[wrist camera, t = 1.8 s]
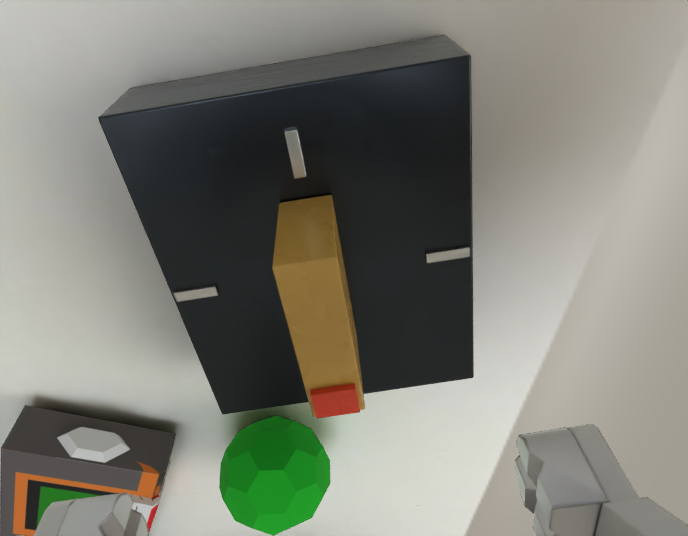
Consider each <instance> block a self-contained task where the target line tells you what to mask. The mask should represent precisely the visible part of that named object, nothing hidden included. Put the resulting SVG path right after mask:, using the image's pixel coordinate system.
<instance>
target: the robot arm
mask: <svg viewBox="0 0 688 536" xmlns="http://www.w3.org/2000/svg"><path fill="white" fill-rule="evenodd" d="M516 447H517V450H518V452H519V456H518V457H517V458H516V460H515V473H516V480H517V485H518V488H519V492H520V495H521V498H522V500H523V503H524V506H525V507H526V508H528V509H529V510H530V511H531V512H532V513H533V514H534V520H533V529H534V532H535V535H536V536H688V525H687V524H686V523H684V522H683V521H681V520H680V519H678V518H677V517H676V516H674V515H673V514H671V513H670V512H668V511H667V510H665V509H664V508H662V507H661V506H660V505H658V504H657V503H655V502H654V501H652V500H651V499H649V498H648V497H643V498H639V496H638V495H637V493H636V491H635V489H634V488H633V486H632V484H631V483H630V481H629V479H628V478H627V476H626V474H625V473H624V471H623V469H622V468H621V466H620V464H619V462H618V461H617V459H616V457H615V456H614V454H613V452H612V451H611V449H610V447H609V446H608V444H607V442H606V441H605V439H604V437H603V436H602V434H601V433H600V430H599V429H598V428H597V427H596V426H595V425H593V424H587V425H582V426H575V427H570V428H566V427H564V428H558V429H551V430H545V431H539V432H533V433H527V434H521V435H518V437H517V440H516ZM133 503H134V501H133V499H132V498H131V497H130V495H129V494H128V493H119V494H111V495H104V496H96V497H88V498H81V499H71V500H65V501H58V502H52V503H51V504H50V506H49V507H48V508H47V509H46V510H45V511H44V514H43V516H42V518H41V520H40V522H39V525H38V527H37V529H36V531H35V533H34V535H33V536H148V526H147V523H146V520H145V518H144V516H143V515H142V513H140V512H137V511H135V510H133V509H132V506H133Z"/></svg>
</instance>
